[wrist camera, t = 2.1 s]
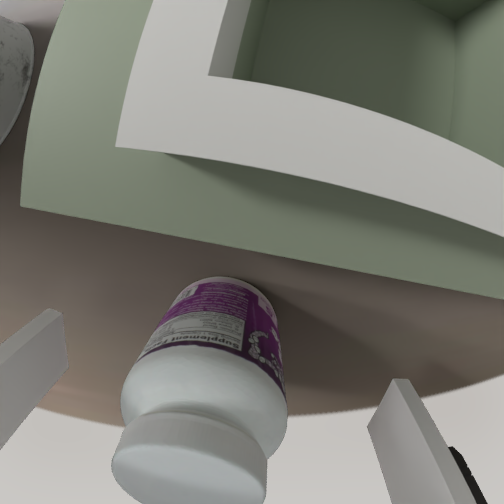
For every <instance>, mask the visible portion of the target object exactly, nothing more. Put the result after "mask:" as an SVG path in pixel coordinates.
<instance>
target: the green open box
mask: <svg viewBox="0 0 504 504" xmlns="http://www.w3.org/2000/svg"><path fill="white" fill-rule="evenodd" d="M20 206H21V207H26V208H31V209H37V210H42V211H47V212H52V213H58V214H63V215H68V216H73V217H78V218H84V219H89V220H94V221H99V222H105V223H110V224H115V225H120V226H125V227H131V228H136V229H141V230H146V231H152V232H157V233H162V234H167V235H172V236H178V237H183V238H188V239H193V240H198V241H204V242H209V243H214V244H219V245H224V246H230V247H235V248H240V249H245V250H250V251H256V252H261V253H266V254H271V255H276V256H281V257H287V258H292V259H297V260H302V261H307V262H312V263H318V264H323V265H328V266H333V267H338V268H343V269H349V270H354V271H359V272H364V273H369V274H374V275H380V276H385V277H390V278H395V279H400V280H405V281H410V282H416V283H421V284H426V285H431V286H436V287H441V288H446V289H452V290H457V291H462V292H467V293H472V294H477V295H482V296H487V297H493V298H498V299H503V300H504V0H65V2H64V5H63V7H62V10H61V12H60V15H59V17H58V20H57V22H56V25H55V28H54V31H53V33H52V36H51V39H50V42H49V45H48V48H47V51H46V55H45V58H44V61H43V65H42V68H41V72H40V76H39V79H38V83H37V87H36V92H35V96H34V101H33V105H32V110H31V115H30V121H29V126H28V132H27V139H26V146H25V153H24V162H23V171H22V183H21V199H20Z"/></svg>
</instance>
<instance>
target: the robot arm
mask: <svg viewBox="0 0 504 504" xmlns="http://www.w3.org/2000/svg"><path fill="white" fill-rule="evenodd" d="M68 368H69V364H68V357H67V349H66V341H65V332H64V321H63V313H61V312H59V311H56V310H53V309H50V308H48V309H46V310H45V311H44V312H42V313H41V314H39V315H38V316H37V317H35V318H34V319H33V320H31V321H30V322H29V323H27V324H26V325H25V326H23V327H22V328H21V329H20V330H18V331H17V332H16V333H14V334H13V335H12V336H10V337H9V338H8V339H7V340H5V341H4V342H3V343H2V344H0V450H1V448H2V447H3V446H4V445H5V443H6V442H7V441H8V440H9V438H10V437H11V436H12V435H13V433H14V432H15V431H16V430H17V428H18V427H19V426H20V425H21V423H22V422H23V421H24V419H26V417H27V416H28V415H29V414H30V412H31V411H32V410H33V409H34V408H35V406H36V405H37V404H38V403H39V402H40V400H41V399H42V398H43V397H44V396H45V395H46V393H47V392H48V391H49V390H50V389H51V388H52V386H53V385H54V384H55V383H56V382H57V381H58V380H59V378H60V377H61V376H62V375H63V374H64V373H65V372H66V370H67V369H68ZM367 428H368V431H369V433H370V436H371V439H372V442H373V445H374V448H375V451H376V454H377V457H378V460H379V463H380V466H381V470H382V473H383V476H384V479H385V482H386V485H387V489H388V492H389V495H390V498H391V502H392V504H487V502H486V500H485V498H484V496H483V494H482V492H481V490H480V488H479V486H478V484H477V482H476V480H475V479H474V477H473V476H472V475H471V471H470V469H469V468H468V467H467V464H466V462H465V460H464V458H463V456H462V455H461V454H460V453H459V452H458V451H457V450H456V449H455V448H454V447H447V445H446V443H445V441H444V439H443V437H442V436H441V434H440V432H439V430H438V428H437V427H436V425H435V423H434V421H433V420H432V418H431V416H430V414H429V413H428V411H427V409H426V408H425V406H424V404H423V402H422V401H421V399H420V397H419V396H418V394H417V392H416V391H415V389H414V387H413V386H412V384H411V382H410V381H409V379H397V378H393V379H392V381H391V383H390V385H389V387H388V389H387V391H386V393H385V395H384V397H383V399H382V401H381V403H380V404H379V406H378V408H377V410H376V412H375V414H374V415H373V417H372V419H371V421H370V423H369V424H368V426H367Z"/></svg>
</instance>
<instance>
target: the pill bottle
mask: <svg viewBox="0 0 504 504" xmlns="http://www.w3.org/2000/svg"><path fill="white" fill-rule="evenodd" d="M120 404H121V413H122V417H123V420H124V423H125V425H126V428H125V429H124V431H123V433H122V436H121V439H120V442H119V444H118V446H117V449H116V451H115V454H114V456H113V459H112V464H111V467H112V473H113V475H114V477H115V479H116V481H117V482H118V484H119V485H120V486H121V487H122V488H123V489H124V490H125V491H126V492H127V493H128V494H129V495H130V496H132V497H133V498H134V499H136V500H138V501H139V502H141V503H142V504H263V502H264V500H265V497H266V483H267V481H266V480H267V459H268V458H269V457H270V456H272V455H273V454H274V452H275V451H276V450H277V449H278V447H279V446H280V444H281V442H282V440H283V438H284V435H285V433H286V427H287V418H288V409H287V402H286V393H285V386H284V376H283V365H282V354H281V347H280V338H279V331H278V323H277V318H276V315H275V312H274V310H273V308H272V306H271V304H270V302H269V301H268V300H267V298H266V297H265V296H264V295H263V294H262V293H261V292H260V291H259V290H258V289H256V288H255V287H253V286H252V285H250V284H248V283H246V282H244V281H241V280H238V279H235V278H231V277H222V276H219V277H210V278H205V279H202V280H199V281H197V282H194V283H192V284H190V285H189V286H187V287H186V288H185V289H184V290H183V291H182V292H181V293H180V294H179V295H178V296H177V298H176V299H175V301H174V302H173V304H172V305H171V307H170V308H169V310H168V311H167V312H166V314H165V316H164V317H163V318H162V320H161V321H160V323H159V325H158V326H157V328H156V329H155V331H154V333H153V335H152V336H151V338H150V339H149V341H148V343H147V344H146V346H145V347H144V349H143V351H142V352H141V354H140V356H139V357H138V359H137V361H136V362H135V364H134V365H133V367H132V369H131V370H130V372H129V373H128V376H127V378H126V380H125V382H124V385H123V388H122V392H121V401H120Z"/></svg>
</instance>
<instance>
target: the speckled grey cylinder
mask: <svg viewBox="0 0 504 504" xmlns="http://www.w3.org/2000/svg"><path fill="white" fill-rule="evenodd" d="M34 52H35V51H34V44H33V38H32V36H31V34H30V32H29V30H28V29H27V28H26V27H25V26H24V25H23V24H21V23H17V22H13V21H11V20H9V19H6V18H4V17H2V16H0V145H1V144H2V142H3V141H4V139H5V138H6V137H7V135H8V134H9V132H10V131H11V129H12V127H13V125H14V123H15V122H16V120H17V118H18V116H19V113H20V111H21V108H22V106H23V104H24V102H25V99H26V95H27V92H28V89H29V86H30V82H31V77H32V72H33V67H34Z"/></svg>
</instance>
